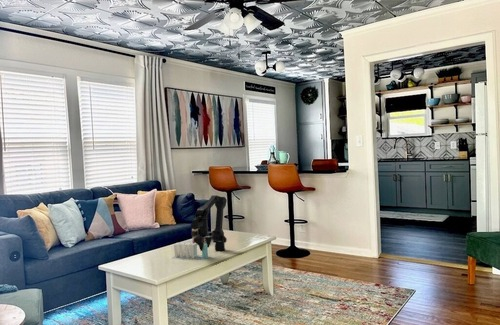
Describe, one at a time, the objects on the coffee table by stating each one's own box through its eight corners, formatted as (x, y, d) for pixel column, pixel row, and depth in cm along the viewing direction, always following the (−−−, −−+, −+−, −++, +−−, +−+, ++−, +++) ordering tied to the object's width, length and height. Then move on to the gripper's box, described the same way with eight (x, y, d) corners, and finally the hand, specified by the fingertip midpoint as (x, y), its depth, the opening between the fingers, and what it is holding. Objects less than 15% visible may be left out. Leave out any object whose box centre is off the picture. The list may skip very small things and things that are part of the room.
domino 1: (180, 255, 272) (179, 242, 272) (176, 257, 268) (175, 244, 268) (178, 255, 273) (177, 242, 273) (174, 257, 268) (174, 244, 268)
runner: (211, 256, 266) (211, 255, 266) (204, 260, 257) (204, 259, 257) (179, 254, 276) (179, 254, 276) (171, 258, 267) (171, 258, 267)
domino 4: (197, 256, 267) (196, 243, 267) (193, 258, 263) (192, 245, 263) (195, 255, 268) (194, 243, 268) (191, 257, 263) (190, 244, 263)
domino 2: (186, 255, 271) (185, 242, 271) (182, 257, 266) (181, 244, 266) (184, 255, 271) (183, 242, 271) (180, 257, 267) (179, 244, 267)
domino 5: (208, 256, 264) (207, 243, 264) (204, 258, 260) (203, 245, 260) (205, 256, 265) (205, 243, 265) (202, 258, 260) (201, 245, 260)
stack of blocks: (201, 238, 328) (200, 223, 328) (208, 237, 327) (207, 223, 326) (192, 244, 307) (191, 228, 307) (200, 244, 306) (199, 228, 305)
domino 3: (191, 255, 269) (190, 243, 269) (188, 257, 264) (187, 244, 264) (189, 255, 270) (188, 243, 269) (186, 257, 265) (185, 244, 265)
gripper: (199, 223, 273) (201, 245, 274) (186, 229, 256) (187, 252, 256) (213, 223, 269) (214, 245, 270) (200, 229, 252) (202, 252, 252)
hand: (204, 249), depth 262 cm, fingers open, 9 cm apart
